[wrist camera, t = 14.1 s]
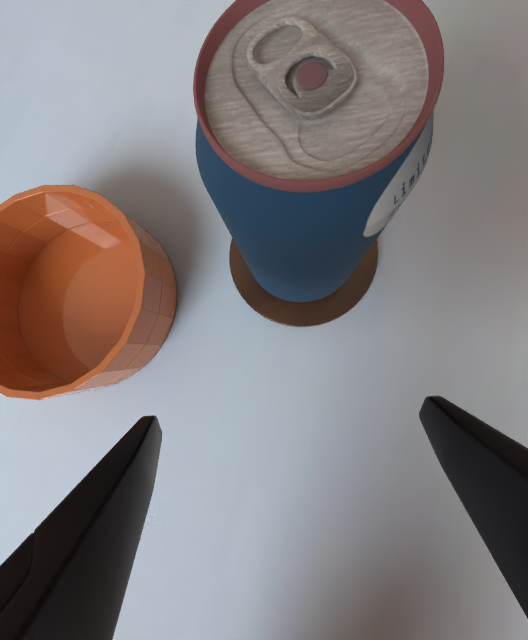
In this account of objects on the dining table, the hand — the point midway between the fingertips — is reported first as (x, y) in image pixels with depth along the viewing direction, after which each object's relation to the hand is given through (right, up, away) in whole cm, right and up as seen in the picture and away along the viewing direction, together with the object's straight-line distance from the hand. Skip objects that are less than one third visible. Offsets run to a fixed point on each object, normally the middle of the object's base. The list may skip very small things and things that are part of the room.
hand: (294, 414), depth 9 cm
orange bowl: (-14, +5, +11) cm, 18 cm away
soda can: (+1, +7, +9) cm, 12 cm away
